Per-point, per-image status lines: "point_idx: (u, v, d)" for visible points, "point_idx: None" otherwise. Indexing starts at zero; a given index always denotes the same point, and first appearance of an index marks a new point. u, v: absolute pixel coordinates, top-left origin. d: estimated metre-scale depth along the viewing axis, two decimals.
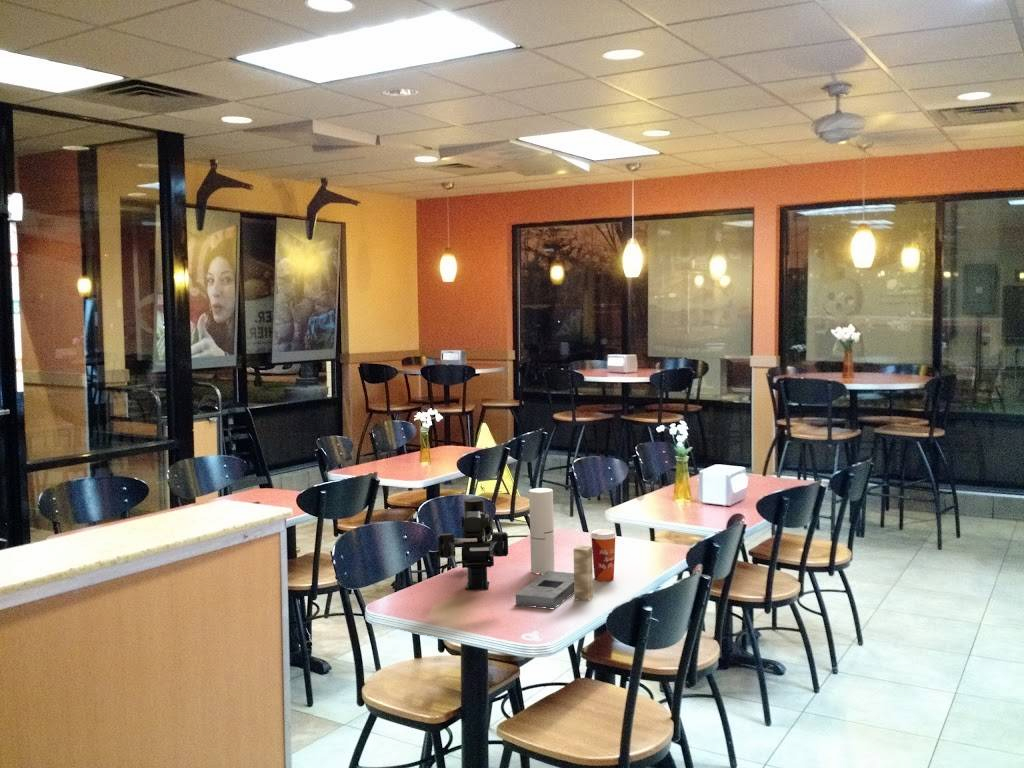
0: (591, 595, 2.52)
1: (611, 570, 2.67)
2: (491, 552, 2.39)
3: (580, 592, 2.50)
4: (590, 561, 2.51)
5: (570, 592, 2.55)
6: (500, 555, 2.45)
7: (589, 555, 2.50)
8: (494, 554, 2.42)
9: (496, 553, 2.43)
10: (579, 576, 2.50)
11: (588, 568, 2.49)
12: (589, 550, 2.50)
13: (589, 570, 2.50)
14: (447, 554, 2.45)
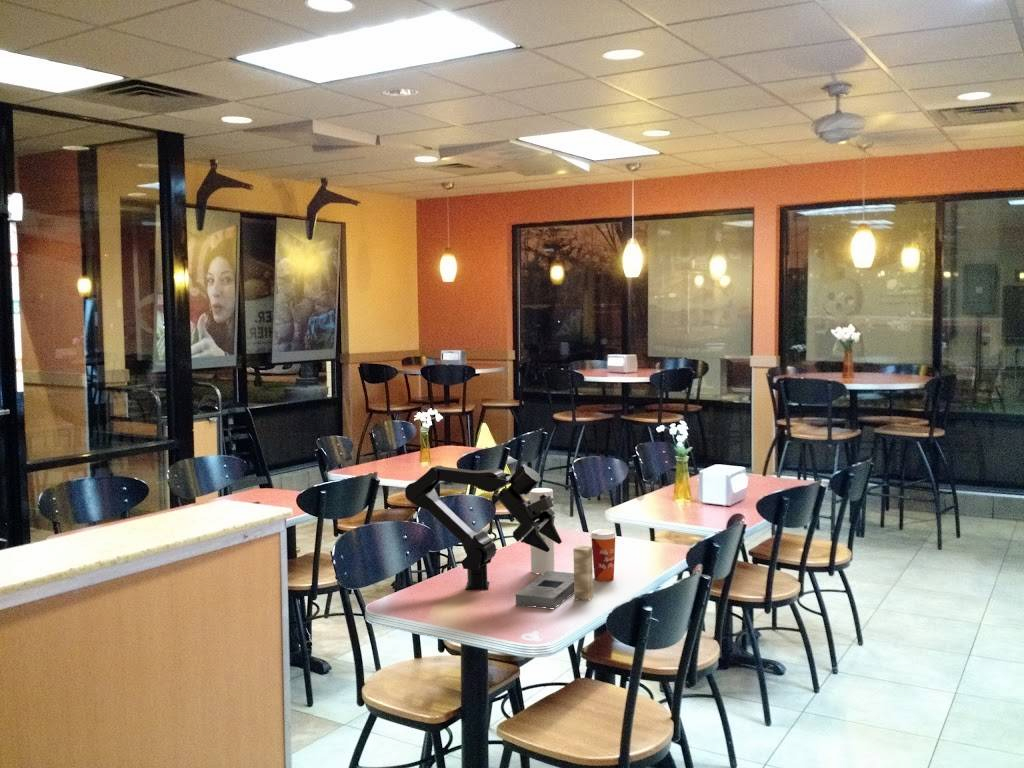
0: (591, 595, 2.52)
1: (611, 570, 2.67)
2: None
3: (580, 592, 2.50)
4: (590, 561, 2.51)
5: (570, 592, 2.55)
6: None
7: (589, 555, 2.50)
8: None
9: None
10: (579, 576, 2.50)
11: (588, 568, 2.49)
12: (589, 550, 2.50)
13: (589, 570, 2.50)
14: (525, 540, 2.50)
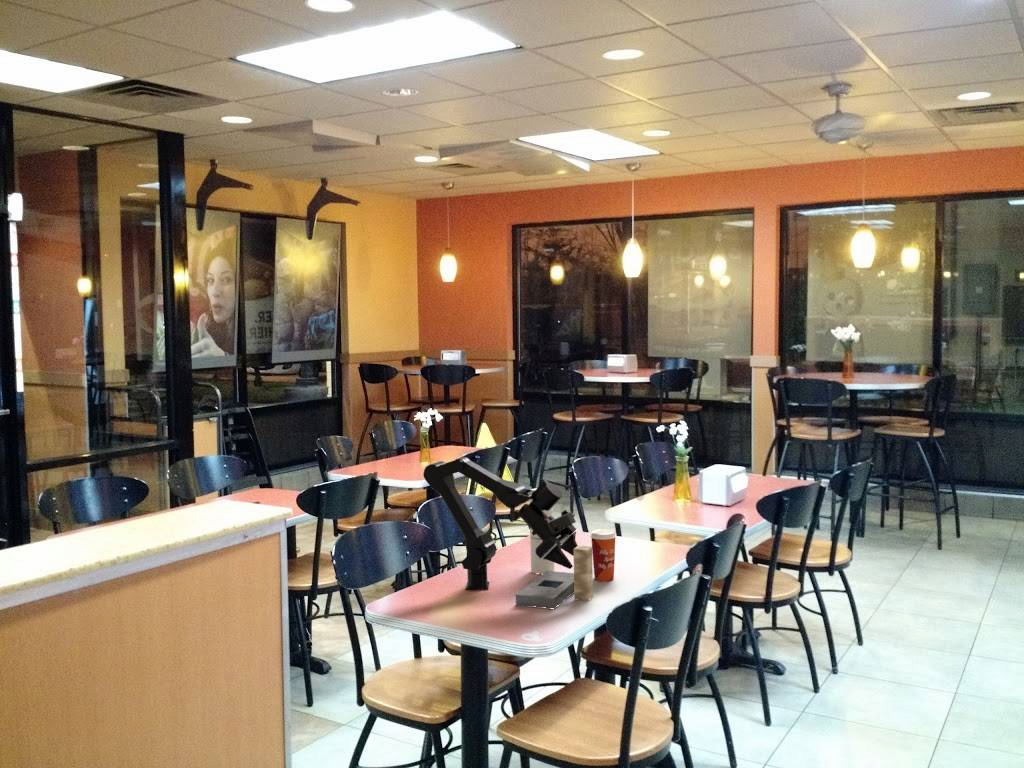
0: (591, 595, 2.52)
1: (611, 570, 2.67)
2: None
3: (580, 592, 2.50)
4: (590, 561, 2.51)
5: (570, 592, 2.55)
6: None
7: (589, 555, 2.50)
8: None
9: None
10: (579, 576, 2.50)
11: (588, 568, 2.49)
12: (589, 550, 2.50)
13: (589, 570, 2.50)
14: (548, 557, 2.48)
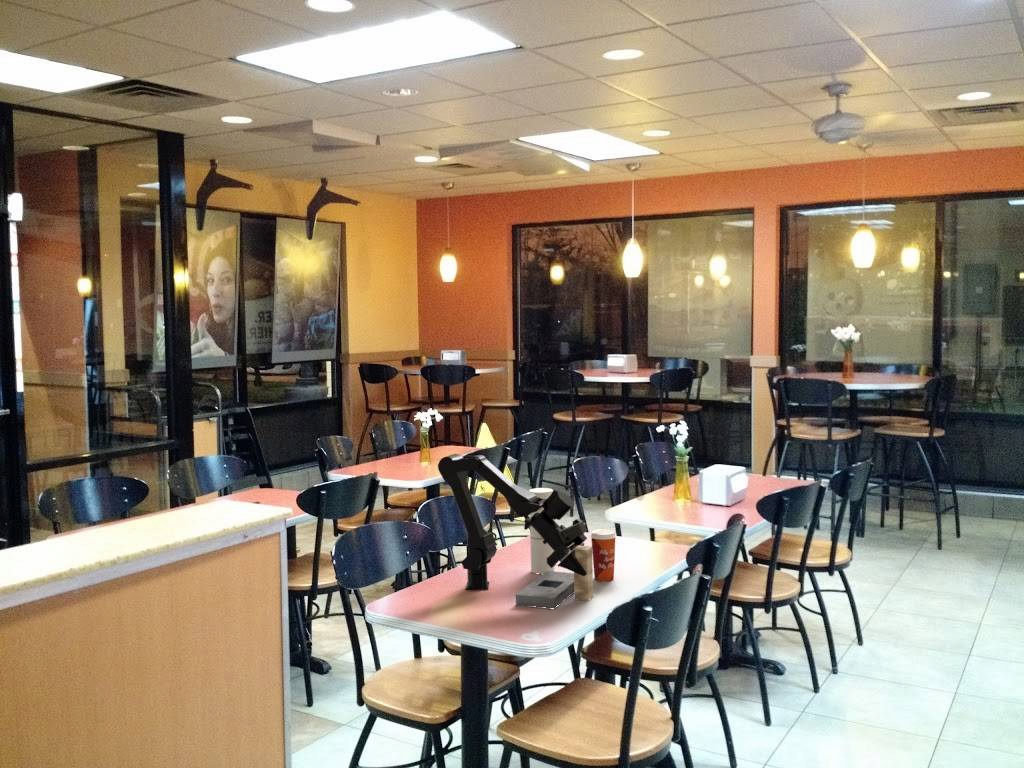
0: (591, 595, 2.52)
1: (611, 570, 2.67)
2: None
3: (580, 592, 2.50)
4: (590, 561, 2.51)
5: (570, 592, 2.55)
6: None
7: (589, 555, 2.50)
8: None
9: None
10: (579, 576, 2.50)
11: (588, 568, 2.49)
12: (589, 550, 2.50)
13: (589, 570, 2.50)
14: (562, 564, 2.49)
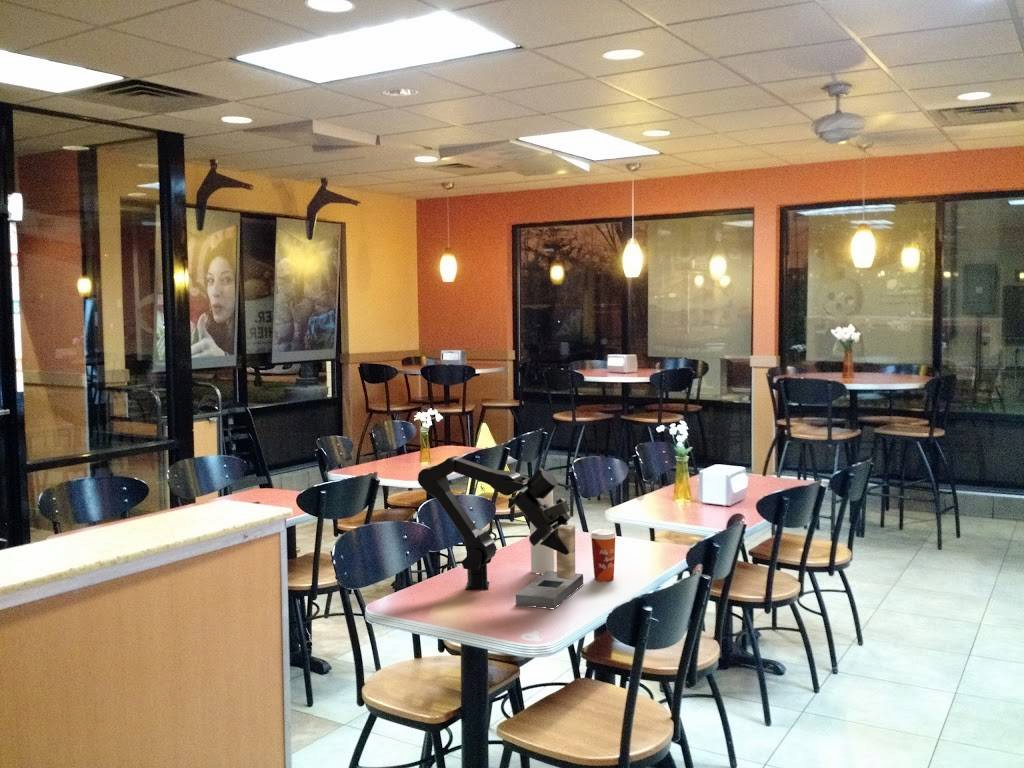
0: (573, 574, 2.53)
1: (611, 570, 2.67)
2: None
3: (562, 570, 2.52)
4: (573, 540, 2.52)
5: (570, 592, 2.55)
6: None
7: (572, 534, 2.52)
8: None
9: None
10: (562, 554, 2.51)
11: (570, 547, 2.51)
12: (572, 529, 2.51)
13: (572, 549, 2.52)
14: (544, 542, 2.50)
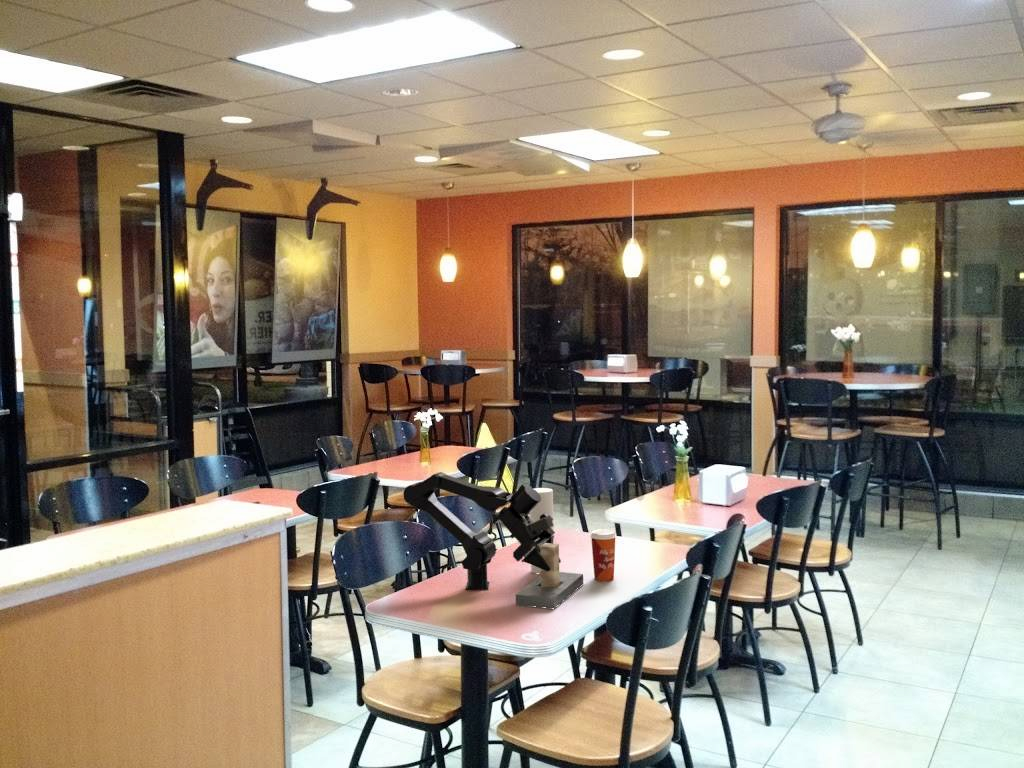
0: None
1: (611, 570, 2.67)
2: None
3: None
4: (557, 558, 2.55)
5: (570, 592, 2.55)
6: None
7: (556, 552, 2.54)
8: None
9: None
10: (546, 573, 2.54)
11: (554, 565, 2.53)
12: (556, 547, 2.54)
13: (556, 567, 2.54)
14: (526, 559, 2.51)
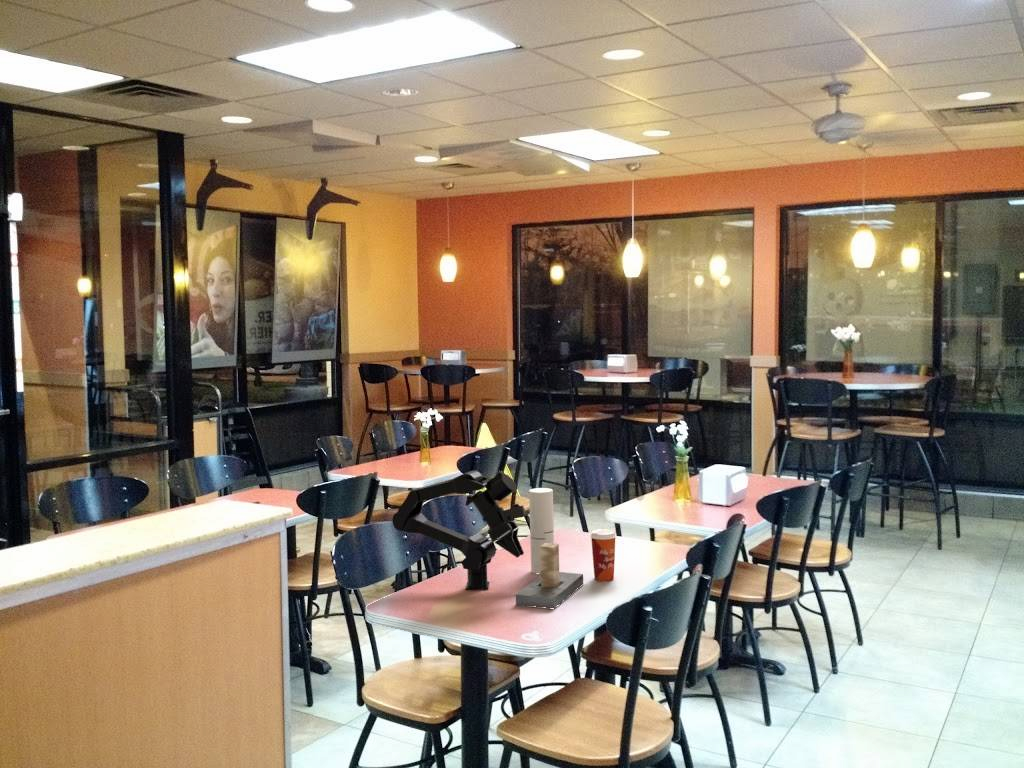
0: None
1: (611, 570, 2.67)
2: None
3: None
4: (557, 558, 2.55)
5: (570, 592, 2.55)
6: None
7: (556, 552, 2.54)
8: None
9: None
10: (546, 573, 2.54)
11: (554, 565, 2.53)
12: (555, 547, 2.54)
13: (556, 567, 2.54)
14: (499, 542, 2.53)
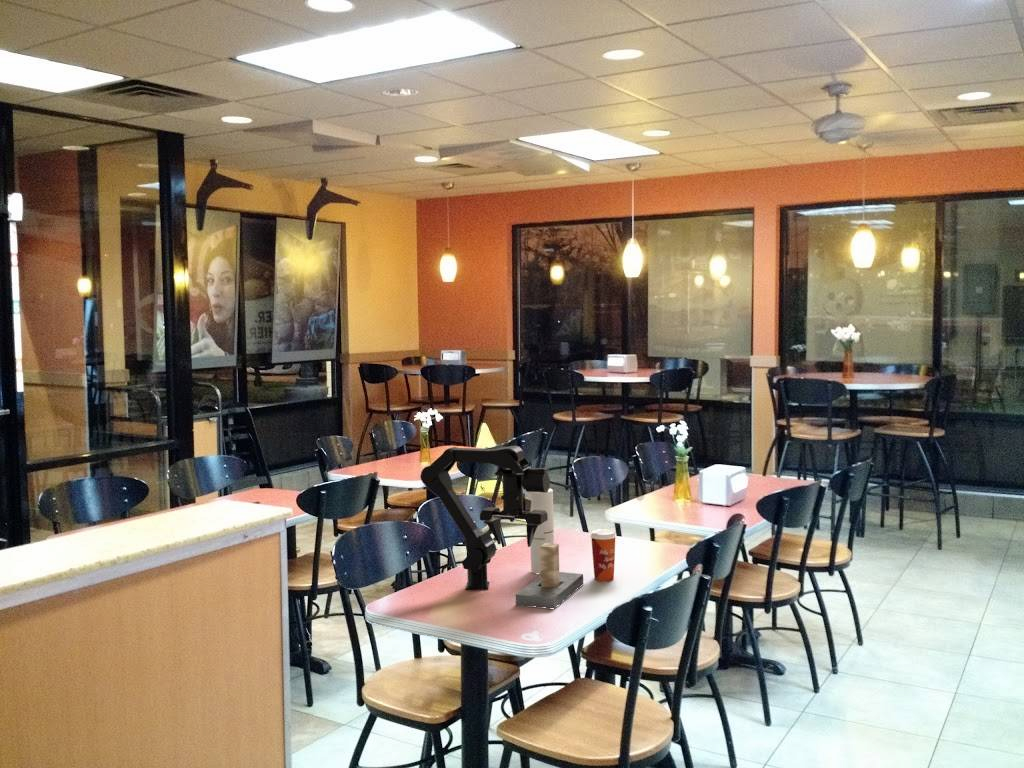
0: None
1: (611, 570, 2.67)
2: None
3: None
4: (557, 558, 2.55)
5: (570, 592, 2.55)
6: None
7: (556, 552, 2.54)
8: None
9: None
10: (546, 573, 2.54)
11: (554, 565, 2.53)
12: (555, 547, 2.54)
13: (556, 567, 2.54)
14: (533, 526, 2.55)
